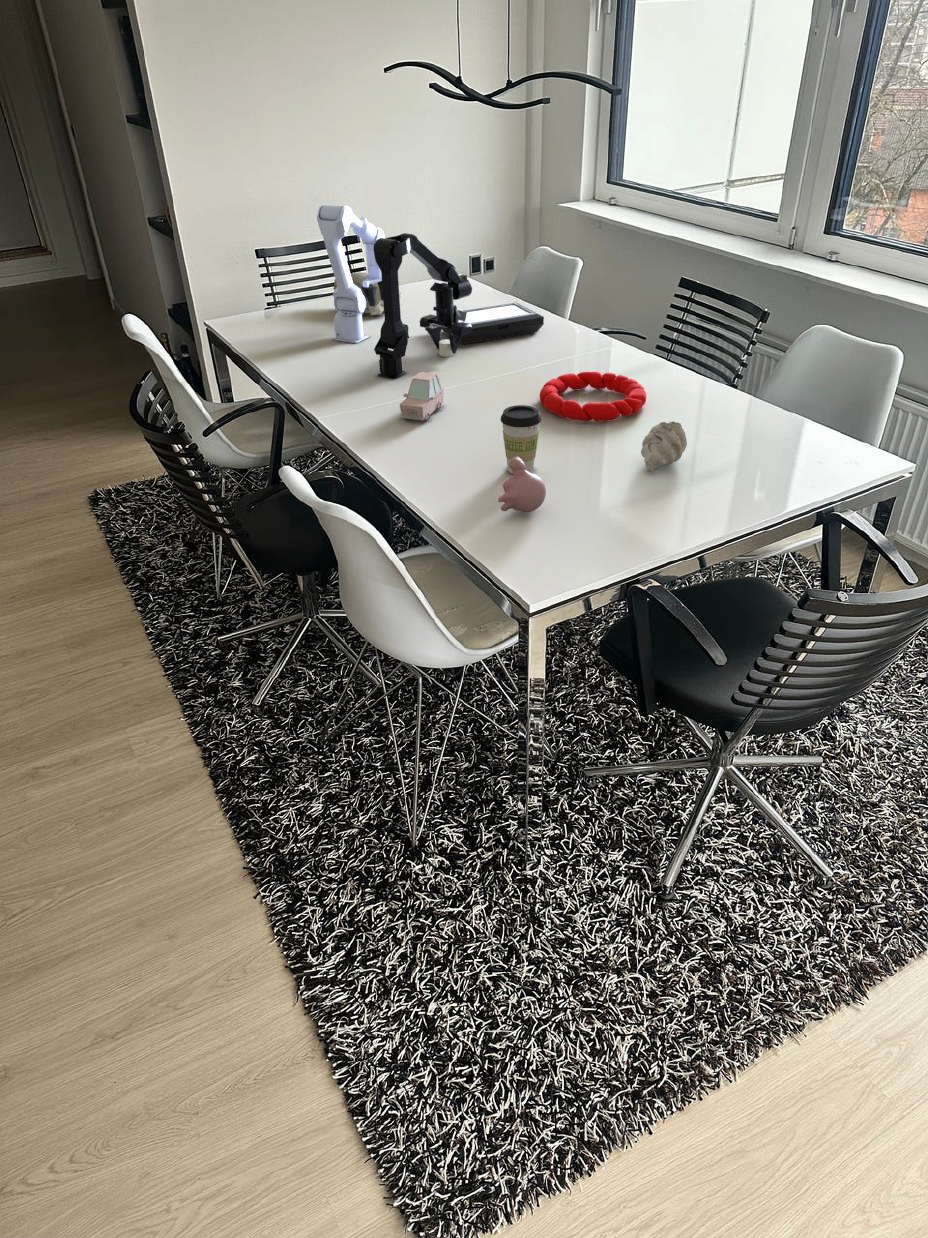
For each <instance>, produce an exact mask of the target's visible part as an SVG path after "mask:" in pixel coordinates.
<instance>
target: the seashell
mask: <svg viewBox="0 0 928 1238" xmlns="http://www.w3.org/2000/svg"><path fill="white" fill-rule="evenodd" d="M687 445H688V441H687V436H686V432H685V430H684V428H683V426H682V423H680V422H678V421H677V422H676V421H668V422H665V421H662V422H659V423H658V424H656V425H654V426H652V427H651V428H650V430H649V432H648V433H647V435H646V436H644V438H643V440H642V443H641V450H640V454H641V456H642V457H643V458H644V467H645V471H646V472H648V473H649V472H652V471H653V470H655V469H657V468H659V467H660V466H665V465H673V463H675V462H677V461H679V460H680V459H681V458H682V455H683V453H684V452H685V450H686V449H687Z"/></svg>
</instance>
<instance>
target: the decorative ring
mask: <svg viewBox="0 0 928 1238" xmlns="http://www.w3.org/2000/svg"><path fill="white" fill-rule="evenodd" d="M588 386H589V387H591V388H592V389H595V390H603V389H607V390H608V391H612V392H615V393H617V394H618V393H619V394H622V395H624V396H625V398H623V399H618V400H615V401H611V402H605V401H604V402H587V403H585V404H583V405H582V406H581V404H580V403H579V402H578V401H576V400H572V399H567V400H564V398H563V397H562V396H560V395H561V394H564V393H565V392H566V391H567V390H568V389H570V390H572V391H573V390H574V391H580V390H581V391H582V390H584V389H586V388H588ZM539 401H540V404H541V405H542V406H543V407H544V408H545V410H547V411H548V412H549V413H552V414H553V415H556V416H558V417H561V418H564V419H569V420H573V421H581V422H590V421H592V420H593V421H594V422H611V421H615V420H617V419H618V418H619V417H620V416H622V417H629V416H631V415H632V414H636V413H638V412H639V411H640V410H642V408H643V406H644V405H645V404H646V401H647V392H646V390H645V388H644V386H643V385H642V384H641V383H639V382H638V381H637V380H635V379H634V378H629V377H628V376H626V375H622V374H618V375H616V374H615V373H614V372H605V373H603V374H602V373H601V372H598V371H580V372H579V373H576V374H575V373H573V372H572V373H566V374H561V375H559V376H557V377H556V378H551V379H550V380H548V381H546V382H545V384H543V386H542V388H541V389H540V391H539Z"/></svg>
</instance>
